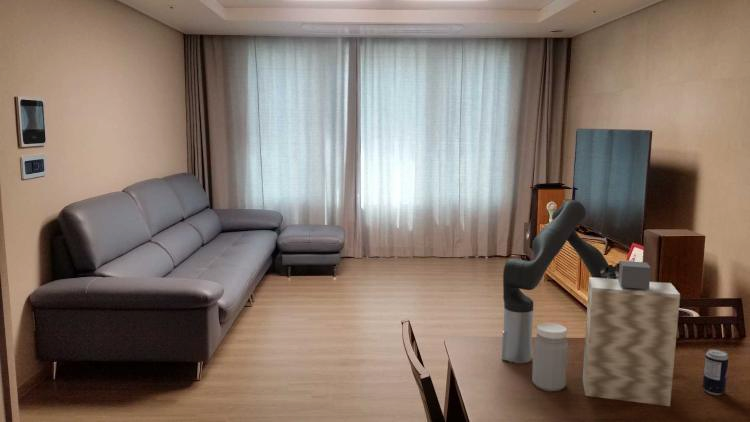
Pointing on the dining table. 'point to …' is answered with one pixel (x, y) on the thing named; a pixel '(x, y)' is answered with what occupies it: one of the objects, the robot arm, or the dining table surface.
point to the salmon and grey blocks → (634, 274)
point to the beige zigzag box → (630, 341)
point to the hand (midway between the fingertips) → (628, 265)
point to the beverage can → (715, 371)
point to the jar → (550, 357)
